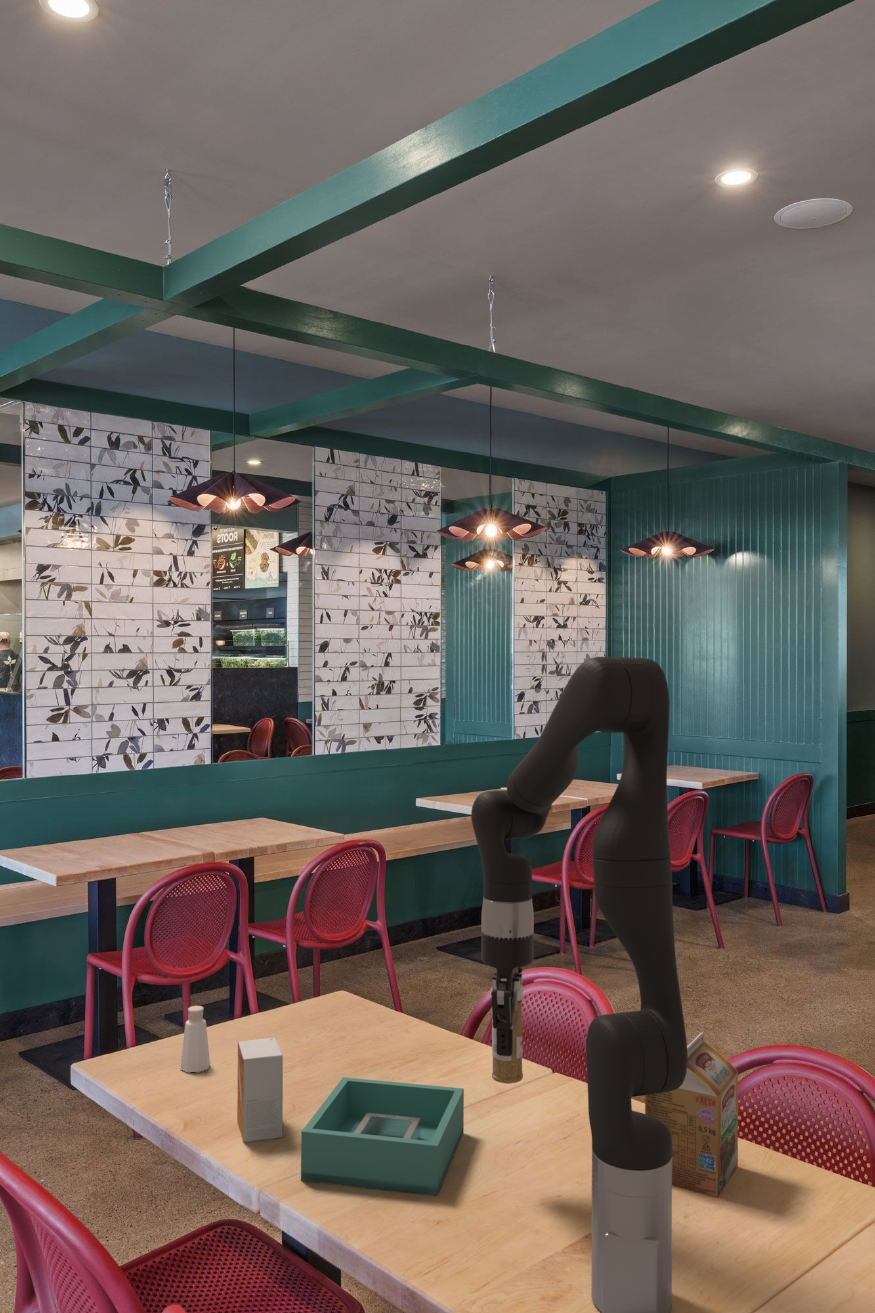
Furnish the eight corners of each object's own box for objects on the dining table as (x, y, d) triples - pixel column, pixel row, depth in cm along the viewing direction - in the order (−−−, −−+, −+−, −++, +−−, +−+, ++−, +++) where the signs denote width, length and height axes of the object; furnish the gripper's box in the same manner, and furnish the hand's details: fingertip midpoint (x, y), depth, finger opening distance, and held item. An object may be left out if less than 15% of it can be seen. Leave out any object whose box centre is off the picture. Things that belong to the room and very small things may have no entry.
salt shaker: (177, 1064, 189) (178, 1005, 189) (206, 1060, 191) (207, 1001, 191) (183, 1075, 184) (183, 1014, 184) (213, 1070, 186) (213, 1010, 186)
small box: (236, 1121, 165) (237, 1040, 165) (275, 1116, 167) (276, 1036, 167) (242, 1143, 157) (242, 1058, 158) (283, 1138, 159) (283, 1054, 160)
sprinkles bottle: (529, 1080, 145) (529, 985, 146) (503, 1087, 143) (504, 991, 143) (509, 1070, 149) (510, 977, 149) (484, 1076, 147) (484, 982, 147)
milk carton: (717, 1198, 142) (717, 1061, 142) (644, 1178, 147) (645, 1046, 148) (737, 1167, 151) (738, 1038, 151) (668, 1149, 156) (669, 1025, 157)
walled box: (437, 1196, 142) (437, 1146, 142) (300, 1180, 146) (301, 1131, 146) (463, 1133, 161) (463, 1088, 162) (342, 1120, 166) (343, 1077, 166)
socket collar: (407, 1164, 149) (407, 1143, 149) (350, 1157, 150) (350, 1137, 151) (420, 1137, 157) (420, 1118, 157) (366, 1132, 159) (366, 1112, 159)
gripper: (527, 943, 139) (527, 1069, 138) (539, 918, 153) (538, 1033, 152) (473, 940, 140) (472, 1065, 140) (489, 916, 154) (489, 1029, 154)
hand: (507, 1048), depth 146 cm, fingers closed on sprinkles bottle, 4 cm apart
